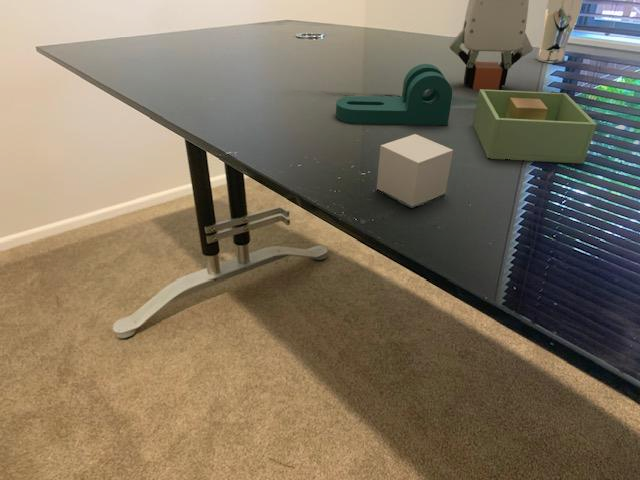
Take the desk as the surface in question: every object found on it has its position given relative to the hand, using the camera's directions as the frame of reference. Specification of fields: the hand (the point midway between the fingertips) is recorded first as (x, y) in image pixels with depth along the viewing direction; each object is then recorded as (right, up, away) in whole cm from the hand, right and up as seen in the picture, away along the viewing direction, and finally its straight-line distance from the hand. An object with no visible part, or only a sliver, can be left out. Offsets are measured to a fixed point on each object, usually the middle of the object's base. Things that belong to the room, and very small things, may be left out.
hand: (483, 87), depth 93 cm
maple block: (+1, -12, -16) cm, 20 cm away
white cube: (-19, -23, -31) cm, 43 cm away
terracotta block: (0, 0, 0) cm, 0 cm away
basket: (+1, -14, -17) cm, 22 cm away
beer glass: (+23, +13, +24) cm, 36 cm away
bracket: (-19, -8, -9) cm, 22 cm away
